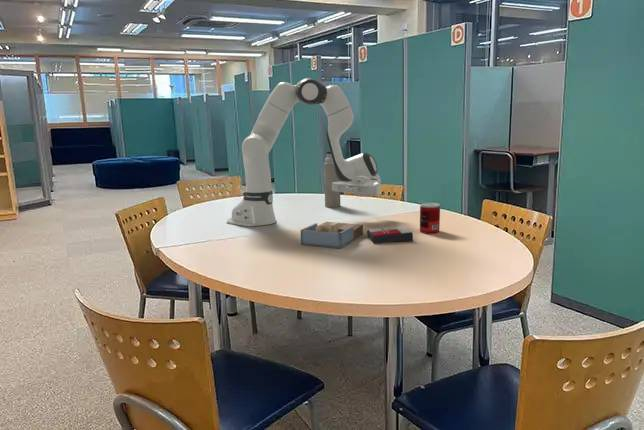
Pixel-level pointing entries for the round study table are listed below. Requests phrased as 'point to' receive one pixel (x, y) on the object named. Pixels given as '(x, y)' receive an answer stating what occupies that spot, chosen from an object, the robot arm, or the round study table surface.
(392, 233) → the calculator
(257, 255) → the round study table surface
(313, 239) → the tray
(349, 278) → the round study table surface
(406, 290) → the round study table surface
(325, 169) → the thermos bottle
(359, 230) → the walnut plate
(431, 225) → the canned food
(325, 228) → the oak block
